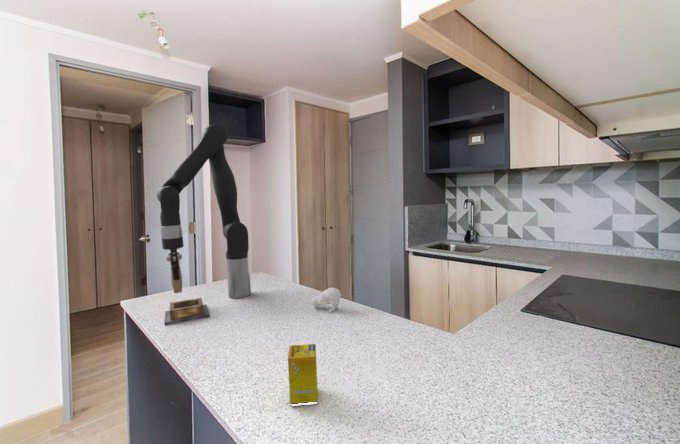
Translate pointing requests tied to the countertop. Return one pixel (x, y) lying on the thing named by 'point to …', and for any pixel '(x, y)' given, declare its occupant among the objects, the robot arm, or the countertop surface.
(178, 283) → the handle
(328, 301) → the white animal figurine
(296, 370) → the supplement box
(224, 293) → the countertop surface
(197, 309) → the socket
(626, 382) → the countertop surface
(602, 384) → the countertop surface
